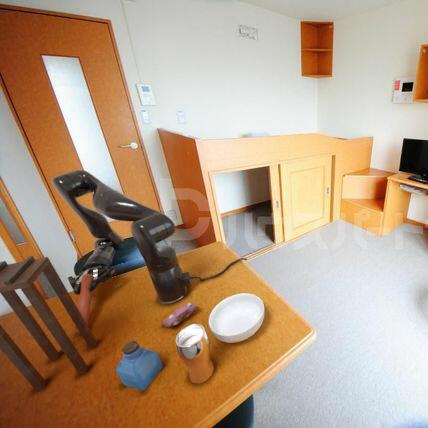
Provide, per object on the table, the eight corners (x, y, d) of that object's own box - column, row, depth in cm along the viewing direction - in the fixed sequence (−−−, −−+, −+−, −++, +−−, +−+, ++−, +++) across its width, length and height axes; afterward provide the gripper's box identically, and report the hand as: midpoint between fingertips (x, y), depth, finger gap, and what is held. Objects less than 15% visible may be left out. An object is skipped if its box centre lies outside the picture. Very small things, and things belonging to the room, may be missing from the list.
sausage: (84, 277, 86) (80, 273, 84) (95, 275, 88) (91, 271, 85) (77, 336, 75) (71, 333, 73) (89, 332, 77) (84, 330, 74)
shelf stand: (97, 342, 73) (45, 253, 59) (86, 372, 65) (24, 277, 51) (53, 356, 69) (-14, 264, 54) (35, 390, 61) (-48, 292, 47)
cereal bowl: (244, 300, 89) (242, 285, 86) (276, 322, 81) (275, 307, 78) (201, 332, 77) (197, 316, 74) (234, 362, 68) (230, 346, 65)
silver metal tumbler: (221, 368, 66) (211, 331, 60) (197, 391, 61) (184, 353, 55) (205, 355, 70) (195, 318, 63) (182, 375, 64) (168, 338, 58)
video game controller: (169, 334, 77) (170, 325, 73) (161, 324, 78) (161, 314, 74) (197, 313, 85) (199, 304, 81) (189, 304, 86) (191, 295, 82)
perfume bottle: (144, 390, 61) (128, 360, 56) (124, 385, 62) (107, 355, 57) (163, 366, 67) (150, 337, 61) (144, 362, 68) (130, 333, 63)
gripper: (71, 260, 91) (50, 288, 77) (117, 251, 96) (106, 276, 82) (79, 276, 94) (60, 306, 80) (123, 266, 100) (113, 293, 86)
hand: (84, 290), depth 81 cm, fingers closed on sausage, 3 cm apart
